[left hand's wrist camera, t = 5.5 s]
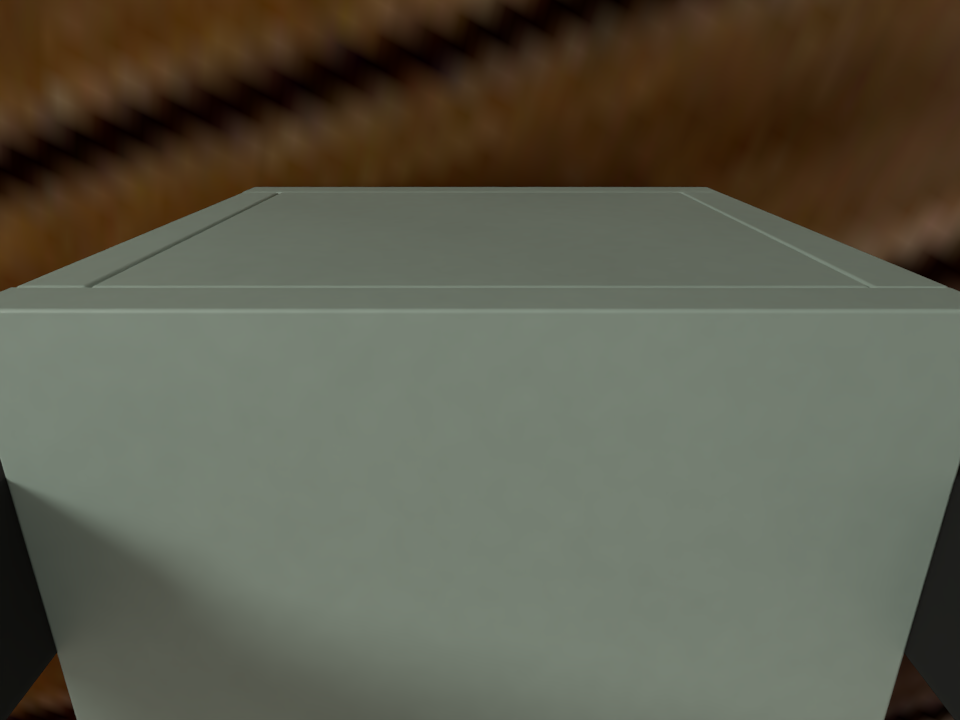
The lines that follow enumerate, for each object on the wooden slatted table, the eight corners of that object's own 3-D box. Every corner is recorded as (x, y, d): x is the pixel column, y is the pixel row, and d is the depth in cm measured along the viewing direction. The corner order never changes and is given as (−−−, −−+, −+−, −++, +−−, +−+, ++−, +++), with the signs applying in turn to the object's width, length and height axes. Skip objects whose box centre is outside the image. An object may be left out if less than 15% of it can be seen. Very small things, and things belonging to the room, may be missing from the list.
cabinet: (637, 775, 25) (739, 1216, 15) (323, 774, 25) (221, 1215, 15) (708, 186, 17) (1008, 309, 7) (253, 186, 17) (-47, 309, 7)
